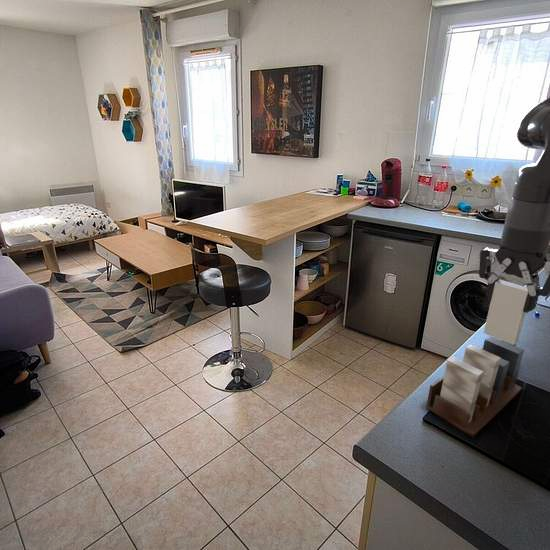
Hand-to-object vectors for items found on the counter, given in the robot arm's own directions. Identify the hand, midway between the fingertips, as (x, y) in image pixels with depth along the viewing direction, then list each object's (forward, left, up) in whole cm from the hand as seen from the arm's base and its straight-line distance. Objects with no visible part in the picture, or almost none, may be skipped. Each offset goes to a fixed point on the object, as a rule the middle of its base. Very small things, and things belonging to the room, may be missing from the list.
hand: (508, 304), depth 73 cm
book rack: (0, +5, -21) cm, 22 cm away
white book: (0, 0, -8) cm, 8 cm away
